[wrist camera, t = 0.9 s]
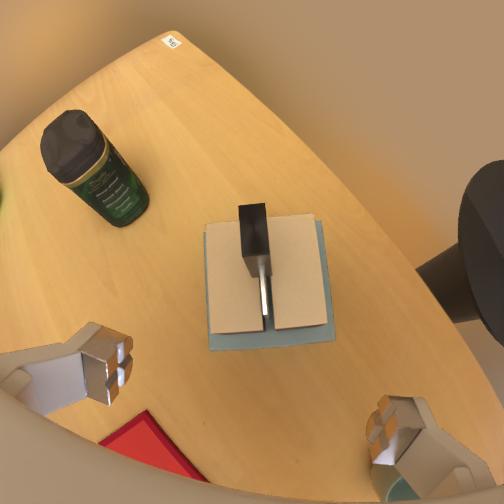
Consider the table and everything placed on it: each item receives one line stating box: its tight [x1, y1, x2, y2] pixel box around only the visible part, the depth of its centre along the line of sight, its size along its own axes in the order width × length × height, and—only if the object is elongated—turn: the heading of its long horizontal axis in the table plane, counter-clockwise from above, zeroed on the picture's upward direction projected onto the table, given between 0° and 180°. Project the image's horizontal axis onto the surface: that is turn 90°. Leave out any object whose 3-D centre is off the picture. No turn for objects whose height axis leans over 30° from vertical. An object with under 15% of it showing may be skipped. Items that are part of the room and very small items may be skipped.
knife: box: [238, 203, 273, 320], centre depth 27 cm, size 10×2×13 cm, turn 5°
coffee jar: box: [40, 110, 149, 227], centre depth 38 cm, size 10×8×19 cm
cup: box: [370, 464, 421, 502], centre depth 28 cm, size 8×8×10 cm
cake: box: [204, 213, 336, 351], centre depth 38 cm, size 16×16×9 cm
